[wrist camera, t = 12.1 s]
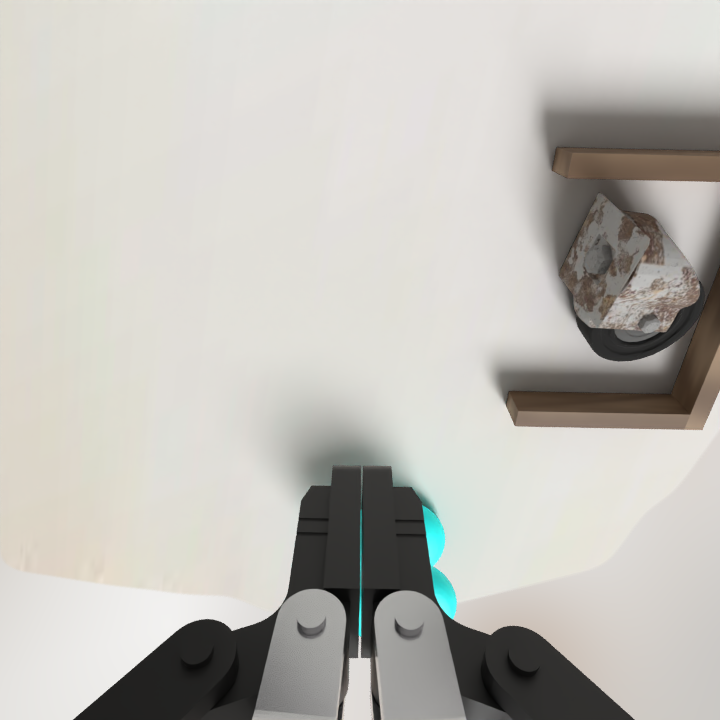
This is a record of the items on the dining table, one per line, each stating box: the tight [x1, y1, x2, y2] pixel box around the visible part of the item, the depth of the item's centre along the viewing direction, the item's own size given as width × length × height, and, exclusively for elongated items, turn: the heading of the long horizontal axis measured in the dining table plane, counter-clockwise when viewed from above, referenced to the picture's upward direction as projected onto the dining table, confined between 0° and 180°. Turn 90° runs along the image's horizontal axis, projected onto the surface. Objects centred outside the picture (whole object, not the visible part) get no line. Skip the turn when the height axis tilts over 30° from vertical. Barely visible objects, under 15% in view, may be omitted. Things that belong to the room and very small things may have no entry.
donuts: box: [359, 505, 457, 637], centre depth 48 cm, size 10×10×10 cm
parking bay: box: [506, 147, 720, 430], centre depth 38 cm, size 21×16×3 cm
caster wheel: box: [559, 193, 705, 361], centre depth 36 cm, size 7×11×10 cm
